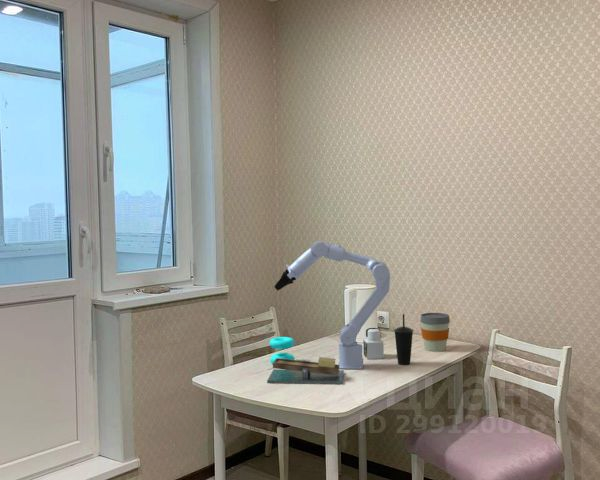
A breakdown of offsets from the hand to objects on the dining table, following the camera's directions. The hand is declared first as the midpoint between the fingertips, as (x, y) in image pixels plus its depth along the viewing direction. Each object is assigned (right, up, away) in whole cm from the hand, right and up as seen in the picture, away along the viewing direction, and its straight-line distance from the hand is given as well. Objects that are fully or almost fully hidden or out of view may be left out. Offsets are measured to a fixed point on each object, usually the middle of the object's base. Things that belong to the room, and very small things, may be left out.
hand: (277, 287), depth 225 cm
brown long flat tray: (+11, -28, -15) cm, 34 cm away
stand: (+11, -32, -15) cm, 37 cm away
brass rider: (+19, -28, -16) cm, 37 cm away
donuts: (+2, -32, +7) cm, 32 cm away
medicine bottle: (+40, -31, +13) cm, 52 cm away
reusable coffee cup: (+68, -29, +24) cm, 78 cm away
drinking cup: (+51, -31, +2) cm, 59 cm away
